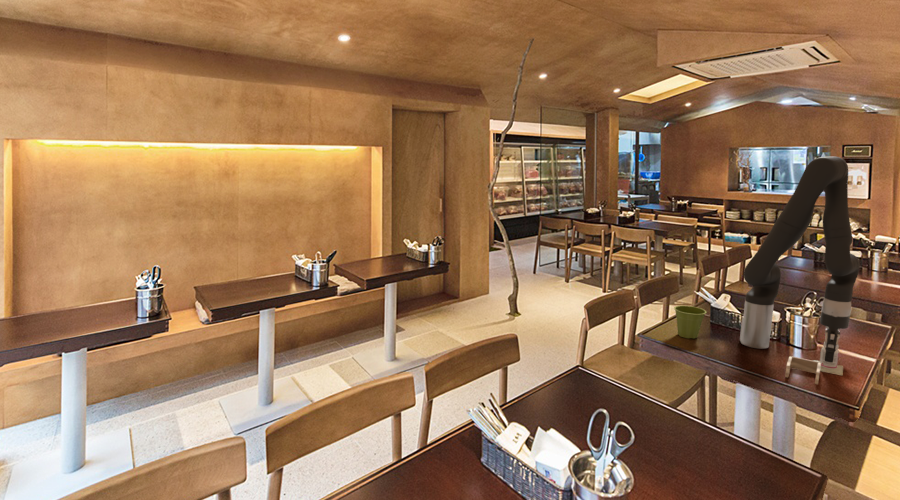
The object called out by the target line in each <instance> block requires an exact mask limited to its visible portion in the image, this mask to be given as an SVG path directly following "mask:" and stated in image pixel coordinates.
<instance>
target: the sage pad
mask: <svg viewBox="0 0 900 500" xmlns="http://www.w3.org/2000/svg"><path fill="white" fill-rule="evenodd" d="M813 361H817V362H820V360H815V359H813ZM820 372H823V373H828V374H832V375H833V374H834V375H838V376H842V377H843V372H844V366H843V365H839V364H837V368H836V369H827V368H823V367H820Z"/></svg>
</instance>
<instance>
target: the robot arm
mask: <svg viewBox="0 0 900 500" xmlns="http://www.w3.org/2000/svg"><path fill="white" fill-rule="evenodd" d="M848 184H849V165H848V162H846V160H845V159H844V158H842V157H839V156H833V155H831V156H821V157H817V158H814V159H813V160H811V161H809V163H807V165H806V167H805V169H804V171H803V173H802V175H801V177H800V179H799V182H798V183H797V185H796V187H795V190H794V191H793V193H792V195H791V196H790V198H789V200H788V201H787V203H786V205H785V206H784V207H783V210H782V211H781V212H780V214H779V215H778V218H777V219H776V220H775V222H774V224H773V225H772V227H771V229H770V231H769V233H768V234H767V236H766V237H765V239H764V241H763V242H762V244H761V246H760V247H759V249H758V250H757V251H756V253H755V254H754V255H753V257H752V258H751V259H750V260H749V262H748V263H747V264H746V266H745V267H744V270H743V279H744V281H745V282H746V284H747V285H749V286H752V288H751V289H750V290H749V291H747V293H746V294H745V297H744V298H745V299H744V307H743V308H744V309H743V310H744V311H743V317H742V318H741V324H740V325H741V326H740V333H739V334H740V336H739V341H740V343H741V344H742V345H744V346H745V347H749V348H752V349H753V348H754V349H759V350H760V349H762V350H763V349H768V348H769V347H770V338H771V330H772V323H773V314H774V305H775V299H776V298H777V296H778V295H779V289H780V282H781V277H782V275H781V269H780V267H779V265H778V264H777V261H779V259H780V258H781V257H782V256H783V255H784V254H786V252H787V251H789V250H790V249H791V248H793V246H794V245H795V244H796V243H798V242H799V240H801V239H802V237H803V235H804V234H805V233H806V231H807V230H808V228H809V226H810V224H811V222H812V219H813V214H814V209H815V205H816V203H817V200H818V199H819V197H820V196H821V195H822V193H823V192H824V201H825V203H824V209H823V216H822V230H823V236H824V242H825V248H824V249H825V250H824V264H825V267H826V268H825V269H827V271H828V272H829V273H830V274H831V276H830V280H829V281H828V282H827V283H826V285H825V289H824V290H825V292H824V298H823V300H822V305H821V312H820V319H819V323H820V324H821V325H822V326H824V327H826V326H827V327H829V328H828V329H827V328H825V332H824V336H825V339H824V342H825V344H826V348H825V349H826V353H825V361H826V362H833V358H834V352H835V351H836V350H835V349H836V346H838V345H839V340H840V338H841V331H840V330H844V329H845V330H846V329H848V328H849V326H850V325H849V324H850V320H851V319H850V318H851V312H852V299H853V293H854V292H853V291H854V286H855V284H856V281H857V278H858V275H859V272H860V265H861V264H860V261H859V258H858V257H857V256H856V255H855V254H853V253H851V245H852V244H853V233H852V232H853V231H852V228H851V227H852V226H851V222H850V221H851V220H850V215H849V200H848V199H849V197H848V195H849V191H848V187H849V185H848ZM838 329H839V330H838ZM828 345H833V346H834V348H830V347H828Z"/></svg>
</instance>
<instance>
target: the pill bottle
mask: <svg viewBox="0 0 900 500" xmlns="http://www.w3.org/2000/svg"><path fill="white" fill-rule="evenodd" d="M839 346H840V345H839V344H838V346H836V349H835V350H836V351H835V352H834V358H833V362H826V361H825V353H826V349H825V348H826V344H825V341H824V342H823V347H821V350H820V352H821V353H820V354H819V355H820V356H819V361H820V362H821V367H823V368H827V369H836V368H837V365H838V362H839V356H840V350H839ZM828 347H830V348H834V346H833V345H828Z"/></svg>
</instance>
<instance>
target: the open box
mask: <svg viewBox="0 0 900 500" xmlns="http://www.w3.org/2000/svg"><path fill="white" fill-rule="evenodd" d="M817 361H818V360H815V361H814V360H813V359H812V360H810V359H806V358H803V357H798V356H793V355H789V357H788V360H787V362H786V368H785V374H784V377H785V378H789V375H790V373H791V369H794V370H798V371H802V372H806V373H807V372H808V373H811V374H815V379H814V384H815V385H819V382H820V381H819V379H820V374H821V371H820V367H821V362H817Z"/></svg>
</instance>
